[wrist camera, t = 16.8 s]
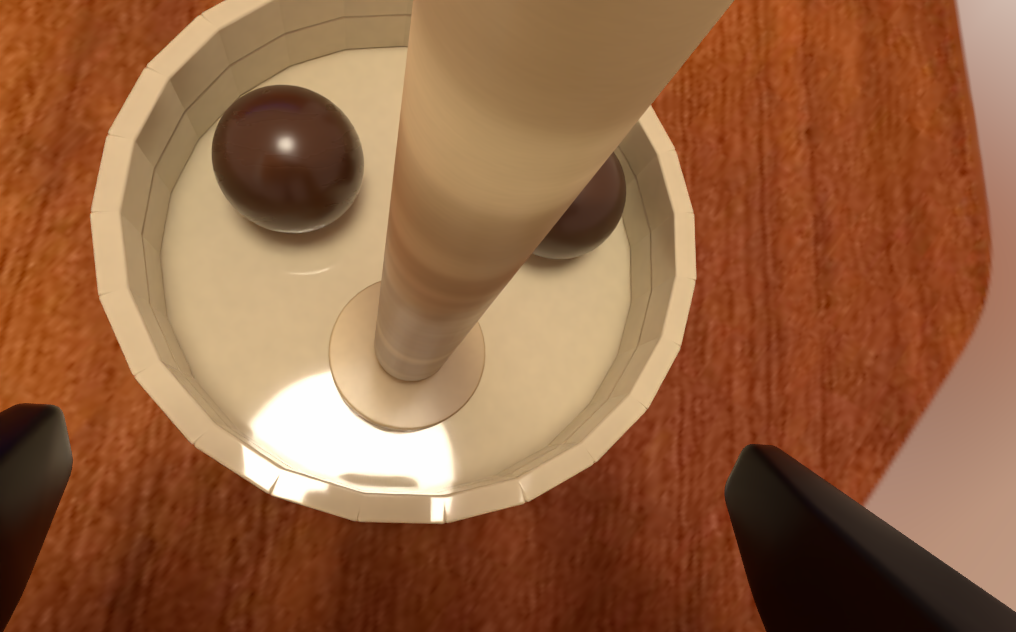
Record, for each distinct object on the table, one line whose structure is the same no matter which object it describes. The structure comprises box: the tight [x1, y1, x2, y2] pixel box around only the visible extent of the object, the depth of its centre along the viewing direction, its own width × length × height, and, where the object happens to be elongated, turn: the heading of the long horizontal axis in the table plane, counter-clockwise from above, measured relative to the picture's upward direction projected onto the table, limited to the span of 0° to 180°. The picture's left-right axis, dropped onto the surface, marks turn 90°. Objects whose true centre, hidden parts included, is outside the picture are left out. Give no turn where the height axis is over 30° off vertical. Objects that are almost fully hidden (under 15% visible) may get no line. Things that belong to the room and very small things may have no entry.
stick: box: [329, 0, 734, 432], centre depth 10 cm, size 4×4×16 cm
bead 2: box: [532, 151, 626, 259], centre depth 17 cm, size 4×4×4 cm
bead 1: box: [211, 85, 364, 233], centre depth 16 cm, size 4×4×4 cm
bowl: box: [90, 0, 696, 524], centre depth 17 cm, size 14×14×4 cm
